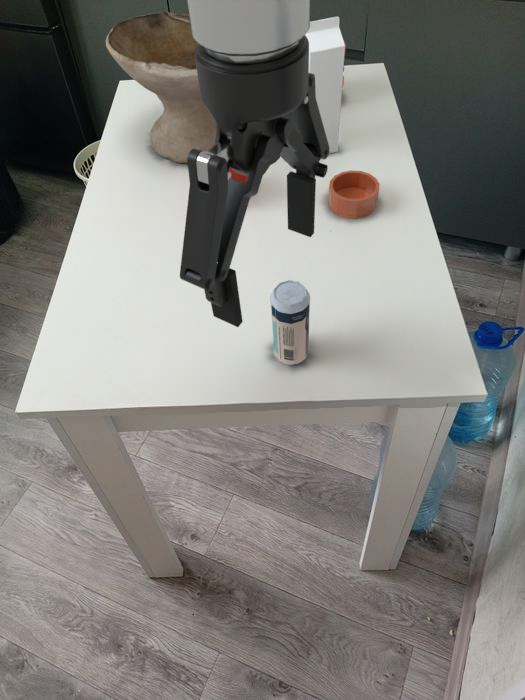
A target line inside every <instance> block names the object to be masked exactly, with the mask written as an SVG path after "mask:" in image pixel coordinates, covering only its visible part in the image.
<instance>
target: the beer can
mask: <svg viewBox="0 0 525 700" xmlns="http://www.w3.org/2000/svg"><path fill="white" fill-rule="evenodd" d="M269 301H270V307H271V325H272V339H273V340H272V341H273V350H272V351H273V355H274V357H275V359H276V360H277V361H279V362H280V363H281V364H285V365H288V366H289V365H290V366H291V365H293V366H294V365H297V364H300V363H302V362H304V361H305V360H306V359H307V357H308V355H309V349H310V348H309V345H310V344H309V343H310V341H309V340H310V339H309V337H310V308H311V307H310V306H311V294H310V292H309V291H308V290H307V287H305V286H304V284H302V283H300V281H295V280H291V279H288V280H285V281H282V282H278V284H277V285H276V286H275V287H274V289H273V290H272V292H271V293H270V296H269Z"/></svg>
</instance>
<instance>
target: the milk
mask: <svg viewBox="0 0 525 700" xmlns="http://www.w3.org/2000/svg"><path fill="white" fill-rule="evenodd" d="M305 36H306V37H307V39H308V41H309V73H312V74H314V75H315V92H316V101H317V104H318V108H319V112H320V115H321V119H322V122H323V126H324V130H325V133H326V137H327V140H328V144H329V149H330V150H329V151H330V152H329V154H333V153H338V151H339V139H340V138H339V137H340V123H341V109H342V95H343V88H342V82H343V76H344V72H343V68H344V69H345V65H344V62H345V55H346V52H345V44H346V43H345V44H344V42H345V40H344V38H343V35H342V31H341V27H340V17H339V16H333V17H332V16H331V17H328V18H323V19H318V20H313V21H311V20H310V28H309V30H308V32H307V33H306V34H305ZM344 54H345V55H344Z"/></svg>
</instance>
